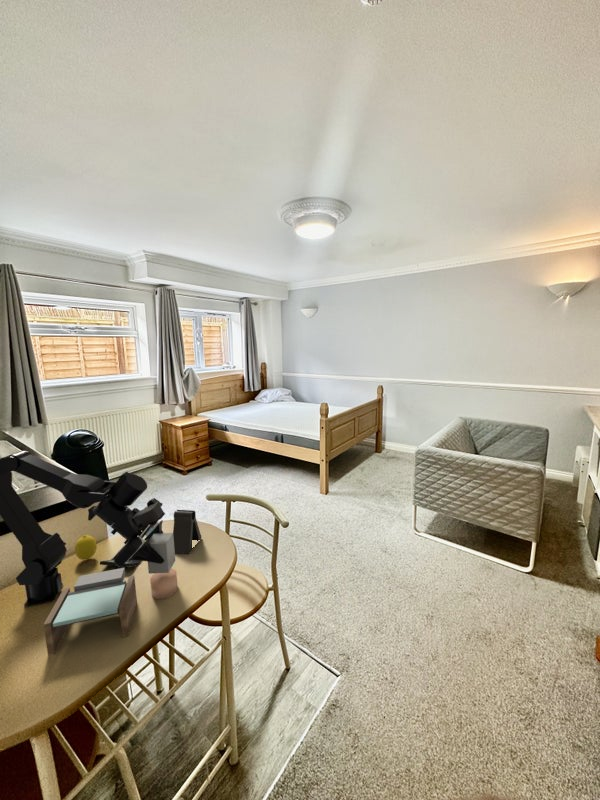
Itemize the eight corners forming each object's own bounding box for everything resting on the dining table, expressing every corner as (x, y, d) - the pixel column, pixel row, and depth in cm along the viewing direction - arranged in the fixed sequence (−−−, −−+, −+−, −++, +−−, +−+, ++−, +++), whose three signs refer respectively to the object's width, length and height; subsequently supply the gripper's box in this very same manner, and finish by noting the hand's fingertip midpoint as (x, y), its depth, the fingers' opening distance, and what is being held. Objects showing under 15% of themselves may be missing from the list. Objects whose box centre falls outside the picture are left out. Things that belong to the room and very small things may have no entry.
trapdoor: (53, 628, 69) (52, 618, 69) (76, 585, 82) (74, 576, 82) (117, 614, 73) (116, 604, 72) (129, 575, 86) (128, 566, 85)
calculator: (153, 550, 107) (152, 542, 106) (129, 574, 95) (128, 564, 95) (127, 548, 108) (126, 539, 108) (100, 571, 97) (99, 562, 97)
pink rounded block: (150, 601, 84) (148, 587, 84) (153, 584, 90) (151, 571, 90) (177, 595, 86) (175, 581, 85) (178, 579, 92) (177, 566, 92)
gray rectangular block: (148, 573, 85) (146, 544, 84) (156, 561, 90) (154, 533, 88) (168, 572, 85) (166, 543, 84) (175, 560, 90) (173, 532, 89)
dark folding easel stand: (189, 554, 104) (186, 518, 102) (171, 553, 105) (168, 517, 103) (201, 538, 112) (199, 505, 111) (185, 537, 113) (182, 504, 112)
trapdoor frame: (48, 655, 70) (43, 624, 69) (67, 616, 80) (63, 588, 79) (128, 636, 74) (125, 606, 73) (137, 601, 84) (134, 575, 83)
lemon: (84, 554, 105) (81, 530, 104) (101, 554, 105) (99, 530, 104) (72, 565, 100) (68, 540, 98) (90, 565, 99) (87, 540, 98)
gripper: (122, 512, 75) (175, 556, 77) (155, 481, 94) (197, 517, 95) (90, 546, 76) (143, 588, 78) (129, 508, 94) (171, 543, 96)
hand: (166, 555), depth 87 cm, fingers closed on gray rectangular block, 5 cm apart
